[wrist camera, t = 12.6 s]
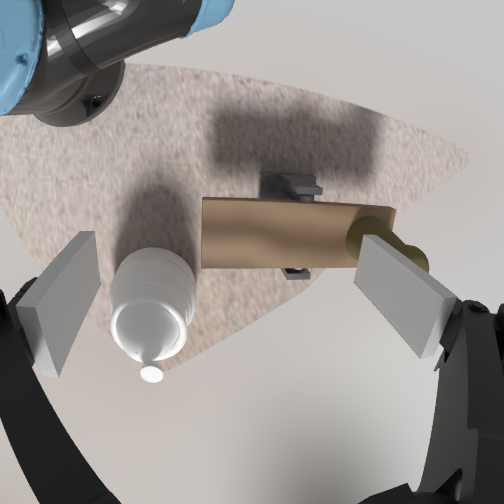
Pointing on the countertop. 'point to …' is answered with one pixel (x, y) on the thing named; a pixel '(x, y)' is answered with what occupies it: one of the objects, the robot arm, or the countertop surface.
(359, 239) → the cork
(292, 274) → the seesaw stand
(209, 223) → the seesaw plank
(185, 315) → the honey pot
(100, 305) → the countertop surface
